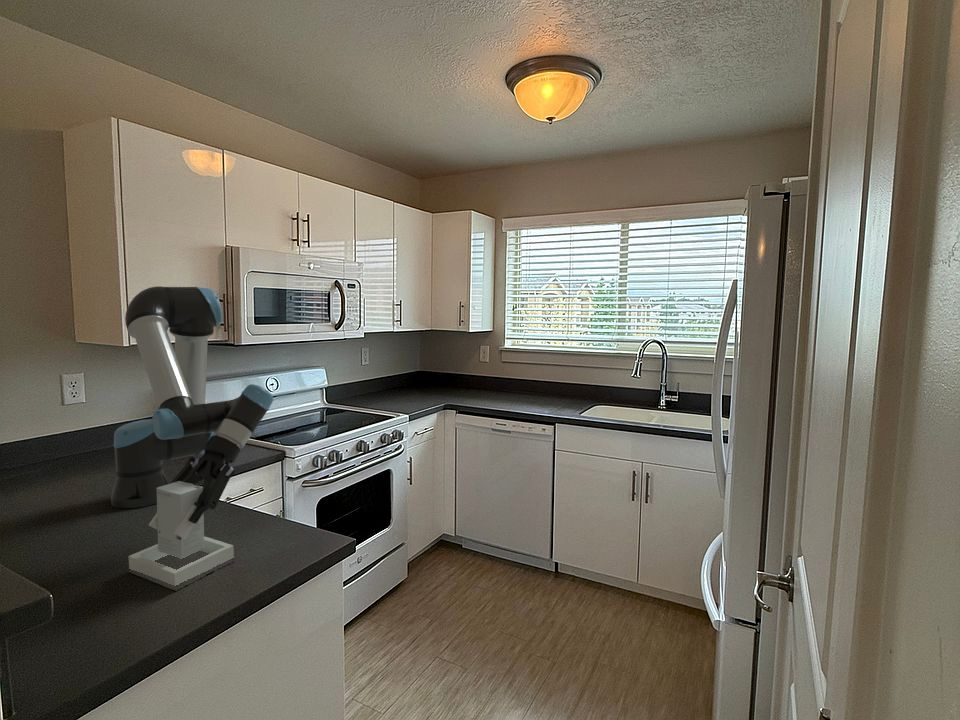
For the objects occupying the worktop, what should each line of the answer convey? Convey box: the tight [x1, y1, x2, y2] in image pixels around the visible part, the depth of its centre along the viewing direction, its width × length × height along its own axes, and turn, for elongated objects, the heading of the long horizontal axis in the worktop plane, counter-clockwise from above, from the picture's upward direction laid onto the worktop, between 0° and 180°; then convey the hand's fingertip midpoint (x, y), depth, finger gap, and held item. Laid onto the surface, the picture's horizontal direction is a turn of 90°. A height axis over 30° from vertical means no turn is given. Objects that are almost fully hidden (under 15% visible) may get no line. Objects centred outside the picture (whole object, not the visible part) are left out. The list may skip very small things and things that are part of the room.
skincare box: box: [156, 481, 205, 559], centre depth 117 cm, size 8×6×15 cm
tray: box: [128, 535, 235, 586], centre depth 118 cm, size 16×14×4 cm
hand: (166, 531), depth 114 cm, fingers closed on skincare box, 8 cm apart
